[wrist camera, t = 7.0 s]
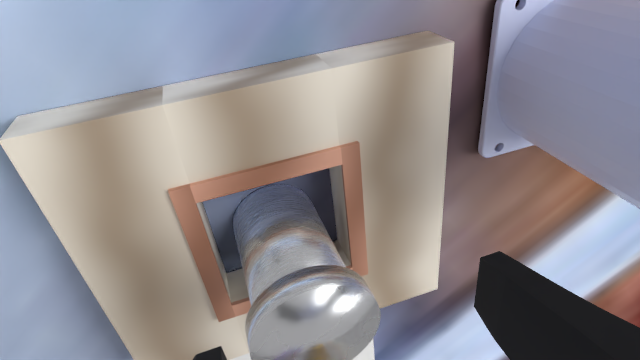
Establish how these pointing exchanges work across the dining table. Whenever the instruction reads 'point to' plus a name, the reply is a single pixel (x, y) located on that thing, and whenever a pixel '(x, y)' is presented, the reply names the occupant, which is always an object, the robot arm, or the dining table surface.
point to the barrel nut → (299, 282)
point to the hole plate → (243, 181)
